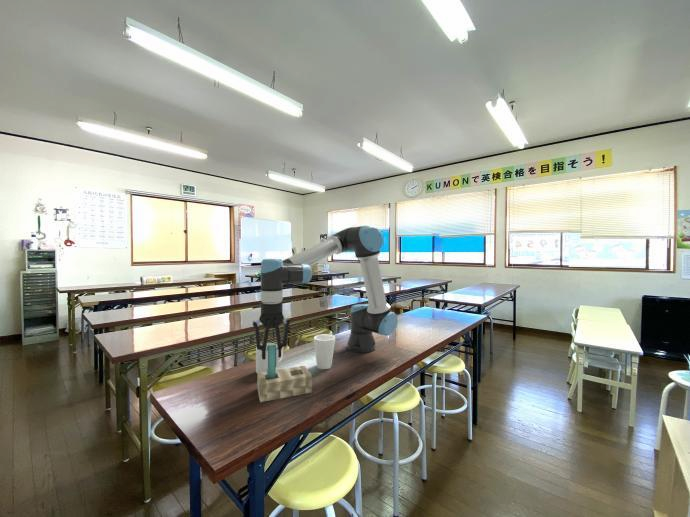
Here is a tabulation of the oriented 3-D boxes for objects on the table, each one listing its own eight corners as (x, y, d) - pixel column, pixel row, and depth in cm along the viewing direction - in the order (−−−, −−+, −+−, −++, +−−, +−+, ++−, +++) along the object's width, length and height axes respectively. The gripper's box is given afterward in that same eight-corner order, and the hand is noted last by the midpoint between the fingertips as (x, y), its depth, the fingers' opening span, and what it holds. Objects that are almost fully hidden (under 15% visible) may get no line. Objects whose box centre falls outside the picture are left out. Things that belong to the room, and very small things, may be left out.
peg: (275, 376, 103) (275, 344, 103) (276, 380, 100) (276, 346, 100) (266, 377, 102) (266, 345, 102) (267, 381, 99) (267, 347, 99)
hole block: (304, 380, 111) (304, 365, 111) (311, 392, 102) (311, 376, 102) (257, 388, 104) (257, 372, 104) (260, 402, 95) (260, 384, 95)
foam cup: (309, 366, 125) (309, 337, 125) (324, 360, 132) (324, 333, 132) (323, 372, 119) (324, 342, 118) (339, 366, 125) (339, 337, 125)
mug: (261, 379, 112) (261, 351, 112) (252, 372, 119) (252, 346, 118) (288, 371, 120) (288, 345, 120) (278, 364, 127) (278, 340, 126)
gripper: (291, 299, 107) (291, 360, 108) (247, 301, 101) (247, 366, 102) (296, 302, 100) (295, 367, 101) (248, 305, 94) (248, 374, 95)
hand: (271, 366), depth 101 cm, fingers closed on peg, 3 cm apart
